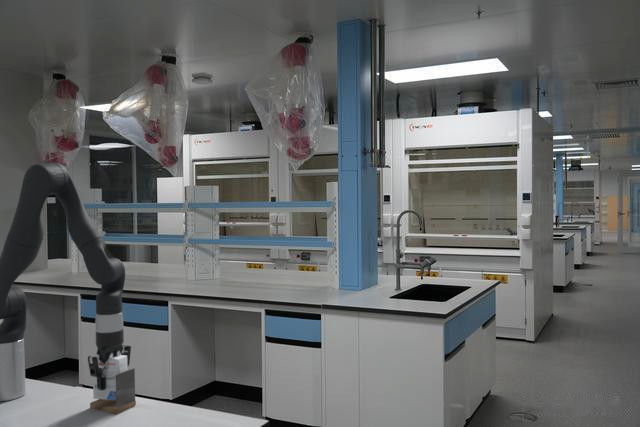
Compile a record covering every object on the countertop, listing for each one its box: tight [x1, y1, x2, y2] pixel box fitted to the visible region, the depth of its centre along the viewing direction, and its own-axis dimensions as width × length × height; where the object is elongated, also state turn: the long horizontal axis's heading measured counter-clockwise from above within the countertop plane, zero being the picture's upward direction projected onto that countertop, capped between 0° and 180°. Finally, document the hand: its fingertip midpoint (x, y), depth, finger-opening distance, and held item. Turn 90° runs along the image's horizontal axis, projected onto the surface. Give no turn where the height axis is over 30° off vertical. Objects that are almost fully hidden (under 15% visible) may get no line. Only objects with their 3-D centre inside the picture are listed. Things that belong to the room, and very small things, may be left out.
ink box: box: [92, 355, 129, 400], centre depth 160 cm, size 8×5×12 cm, turn 78°
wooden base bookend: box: [89, 367, 137, 415], centre depth 160 cm, size 11×7×11 cm, turn 63°
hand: (110, 386), depth 160 cm, fingers closed on ink box, 5 cm apart
